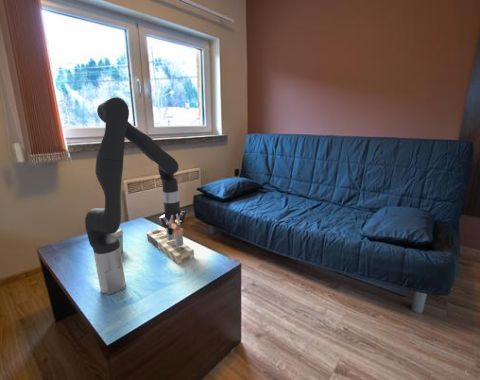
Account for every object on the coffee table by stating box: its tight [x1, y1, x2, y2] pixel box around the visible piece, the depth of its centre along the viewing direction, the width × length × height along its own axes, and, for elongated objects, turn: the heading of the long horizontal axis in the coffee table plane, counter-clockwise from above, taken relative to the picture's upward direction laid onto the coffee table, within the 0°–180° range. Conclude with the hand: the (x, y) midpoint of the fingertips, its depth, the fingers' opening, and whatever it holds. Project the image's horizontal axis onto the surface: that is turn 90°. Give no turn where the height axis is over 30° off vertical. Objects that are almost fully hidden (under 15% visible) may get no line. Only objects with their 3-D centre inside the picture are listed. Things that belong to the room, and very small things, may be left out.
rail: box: [146, 228, 195, 265], centre depth 136 cm, size 36×9×4 cm, turn 41°
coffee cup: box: [111, 227, 124, 253], centre depth 132 cm, size 8×8×12 cm
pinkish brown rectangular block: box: [164, 222, 184, 247], centre depth 128 cm, size 12×4×8 cm, turn 41°
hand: (174, 233), depth 128 cm, fingers closed on pinkish brown rectangular block, 3 cm apart
